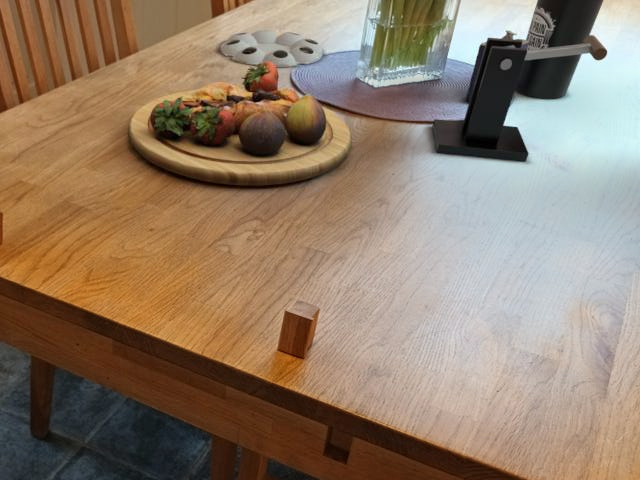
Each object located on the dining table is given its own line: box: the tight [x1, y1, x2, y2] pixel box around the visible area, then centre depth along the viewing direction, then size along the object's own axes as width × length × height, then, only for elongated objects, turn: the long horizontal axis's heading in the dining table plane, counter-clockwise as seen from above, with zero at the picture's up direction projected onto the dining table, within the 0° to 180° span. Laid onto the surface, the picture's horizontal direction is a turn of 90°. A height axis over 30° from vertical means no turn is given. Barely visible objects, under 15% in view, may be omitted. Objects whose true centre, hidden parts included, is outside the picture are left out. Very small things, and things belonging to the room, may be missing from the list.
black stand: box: [432, 37, 529, 162], centre depth 100 cm, size 12×10×14 cm
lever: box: [503, 34, 608, 61], centre depth 96 cm, size 13×6×2 cm, turn 77°
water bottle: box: [514, 0, 604, 100], centre depth 116 cm, size 10×10×23 cm
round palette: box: [219, 30, 323, 68], centre depth 138 cm, size 20×20×2 cm
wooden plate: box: [127, 62, 353, 186], centre depth 102 cm, size 32×32×8 cm
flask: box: [464, 29, 529, 104], centre depth 116 cm, size 9×3×11 cm, turn 112°
